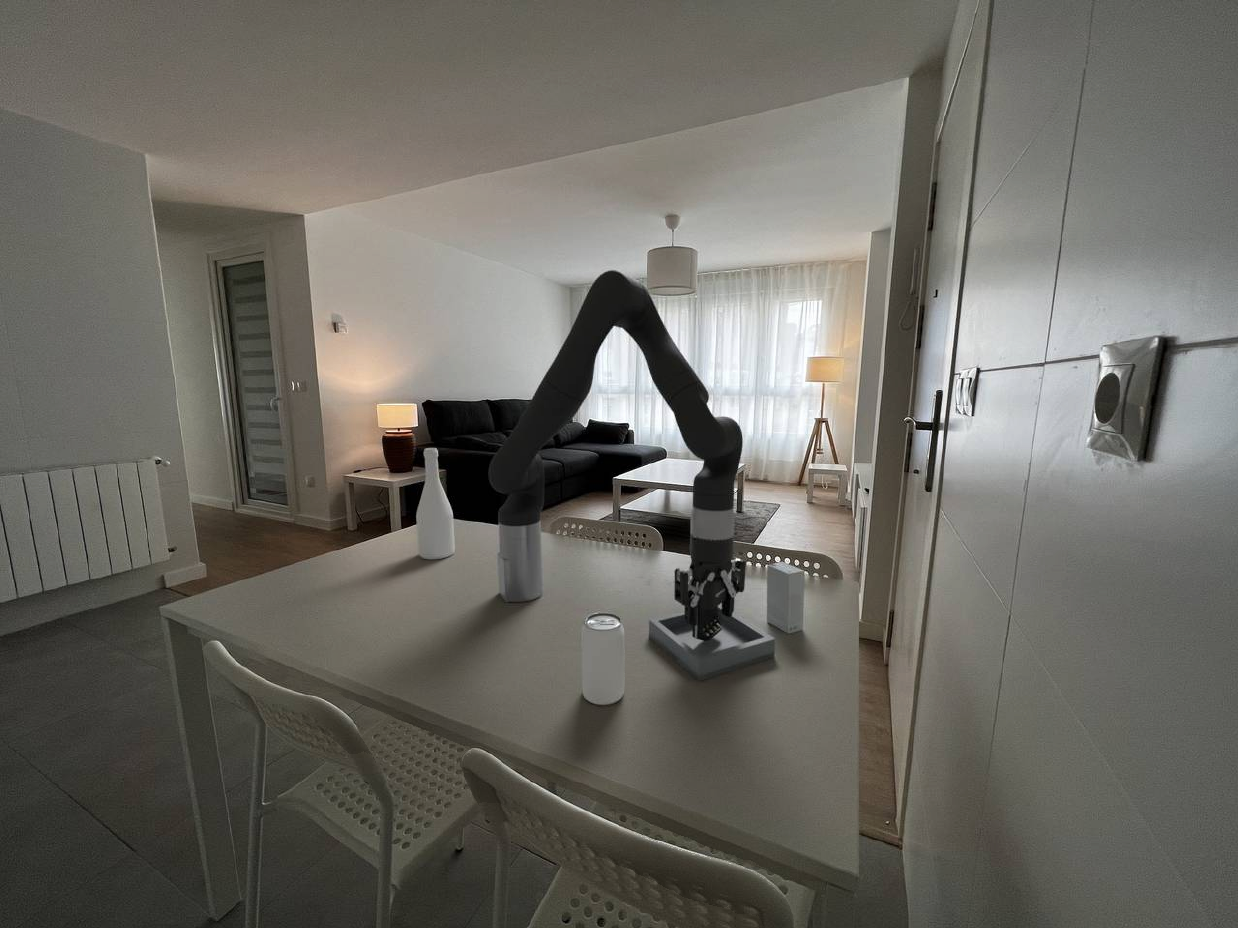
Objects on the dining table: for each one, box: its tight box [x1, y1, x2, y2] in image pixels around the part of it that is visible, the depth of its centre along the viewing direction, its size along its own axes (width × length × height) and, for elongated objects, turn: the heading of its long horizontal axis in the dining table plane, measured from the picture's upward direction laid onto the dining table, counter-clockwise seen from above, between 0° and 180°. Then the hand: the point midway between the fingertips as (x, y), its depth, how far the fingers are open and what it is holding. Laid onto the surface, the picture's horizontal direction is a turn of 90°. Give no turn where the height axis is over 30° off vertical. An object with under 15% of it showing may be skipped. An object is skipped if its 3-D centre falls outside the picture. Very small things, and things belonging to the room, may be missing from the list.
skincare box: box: [766, 561, 805, 634], centre depth 98 cm, size 6×4×12 cm
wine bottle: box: [415, 447, 456, 560], centre depth 138 cm, size 10×10×30 cm
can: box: [581, 612, 625, 707], centre depth 76 cm, size 6×6×12 cm
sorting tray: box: [648, 604, 776, 682], centre depth 90 cm, size 16×16×4 cm
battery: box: [692, 577, 727, 641], centre depth 90 cm, size 7×4×11 cm, turn 142°
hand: (709, 619), depth 90 cm, fingers closed on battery, 7 cm apart
